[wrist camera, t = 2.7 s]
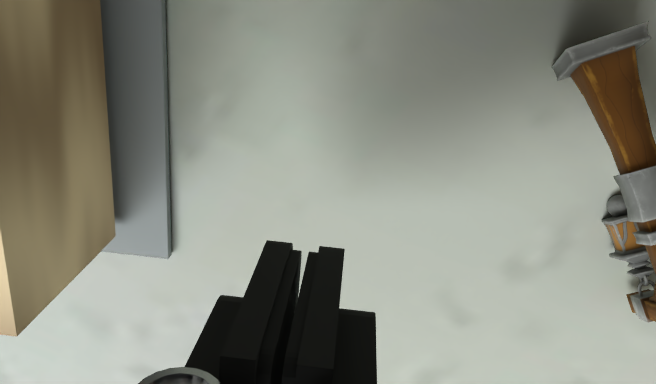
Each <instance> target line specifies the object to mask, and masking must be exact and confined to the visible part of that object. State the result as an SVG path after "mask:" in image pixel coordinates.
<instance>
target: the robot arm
mask: <svg viewBox="0 0 656 384" xmlns="http://www.w3.org/2000/svg"><path fill="white" fill-rule="evenodd" d="M343 260H344V249H341V248H332V247H322V246H320V247H319V252H318V253H316V252H309V254H308V258H307V262H306V267H305V271H304V275H303V280H302V284H301V289H300V293H299V280H300V267H301V251H298V250H293V245H292V243H286V242H277V241H268V240H267V241H266V244H265V246H264V248H263V251H262V253H261V256H260V258H259V261H258V263H257V266H256V268H255V270H254V273H253V275H252V278H251V280H250V283H249V285H248V288H247V290H246V293H245V295H244V297H234V296H225V295H221V296H220V297H219V298H218V300H217V302H216V304H215V306H214V308H213V310H212V312H211V314H210V316H209V318H208V320H207V322H206V324H205V326H204V329H203V331H202V333H201V335H200V337H199V339H198V341H197V343H196V345H195V347H194V349H193V351H192V353H191V355H190V357H189V359H188V361H187V363H186V365H185V367H179V368H169V369H166V370H162V371H159V372H156V373H154V374H152V375H150V376H148V377H146V378H144V379H143V380H142V381H141V382H140V383H138V384H377V365H376V317H375V312H366V311H357V310H348V309H340V308H339V303H340V292H341V281H342V271H343ZM298 293H299V297H298Z"/></svg>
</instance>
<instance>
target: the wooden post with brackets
mask: <svg viewBox="0 0 656 384" xmlns="http://www.w3.org/2000/svg"><path fill="white" fill-rule="evenodd" d="M648 22H649V21H647V22H644V23H641V24H638V25H635V26H633V27H630V28H627V29H624V30H621V31H618V32H615V33H612V34H609V35H606V36H603V37H600V38H597V39H594V40H591V41H588V42H585V43H582V44H579V45H576V46H573V47H570V48H567V49H566V50H565V51H564V52H563V53H562V55H561V56H560V57H559V58H558V60H557V61H556V62H555V63H554V65H553V66H552V68H553V69H554V71H555V74H556V76H557V81H558V80H561V79H564V78H567V77H572V79H573V80H574V82H575V84H576V85H577V87H578V88H579V90H580V91H581V93H582V94H583V96H584V97H585V99H586V101H587V103H588V105H589V107H590V109H591V111H592V113H593V115H594V117H595V119H596V121H597V123H598V125H599V127H600V129H601V131H602V133H603V135H604V137H605V139H606V141H607V143H608V145H609V147H610V149H611V152H612V155H613V157H614V160H615V162H616V165H617V168H618V170H619V173H620V175H617V176H614V179H615V180H616V182H617V184H618V185H619V187H620V190H621V193H622V195H615V196H612V197H611V198H610V199H609V200H608V202H607V210H608V212H609V213H610V214H611V215H612V216H613V217H610V218H606V219H602V222H603V223H604V225H605V226H606V227H607V230H608V232H609V235H610V237H611V239H612V242H613V244H614V247H615V252H614V253H610V254H609V255H610V257H612V258H615V259H619V260H623V261H627V262H629V264H628V266H629V267H633V268H635V269H632V270H630V271H628V272H627V273H628V274H631V275H634V276H636V277H639V279H640V281H641V282H640V283H639V285H638V292H635V293H631V294H627V298H628V301H629V304H630V307H631V310H632V312H633V313H636V315H638V316H639V318H640V319H642V320H644V321H646V322H651V321H655V322H656V283H654V282H653V281H651V280H648V278H647V276H649V275H651V274H652V273H653V272H654V271H655V274H656V144H655V141H654V138H653V135H652V131H651V127H650V123H649V118H648V114H647V110H646V105H645V101H644V97H643V92H642V88H641V84H640V80H639V75H638V67H637V59H636V50H637V49H638V48H639V47H641V46H642V45H643V44H644V43H646V42H647V41H648V40H649V39H651V37H650V36H649V35H648V30H647V25H648ZM649 258H650V260H651V263H652V266H653V268H651V267H647V266H646V265H648V264H650V262H648V261H647V260H648V259H649ZM643 277H644V279H643ZM648 283H650V284H652V286H653V288H654V290H649V289H647V290H643V291H641V286H642V285H644V286H647V285H648Z"/></svg>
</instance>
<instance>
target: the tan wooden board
mask: <svg viewBox="0 0 656 384" xmlns="http://www.w3.org/2000/svg"><path fill="white" fill-rule="evenodd" d="M115 236H116V233H115V218H114V203H113V187H112V172H111V157H110V142H109V127H108V112H107V97H106V82H105V67H104V52H103V37H102V22H101V6H100V0H0V335H9V336H18V335H19V334H20V333H21V332H22V331H23V330H24V329H25V328H26V327H27V326H28V325H29V324H30V323H31V322H32V321H33V320H34V319H35V318H36V317H37V315H38V314H39V313H40V312H41V311H42V310H43V309H44V308H45V307H46V306H47V305H48V304H49V303H50V302H51V301H52V300H53V299H54V298H55V297H56V296H57V295H58V294H59V293H60V292H61V291H62V290H63V289H64V288H65V287H66V286H67V285H68V284H69V283H70V282H71V281H72V280H73V279H74V278H75V277H76V276H77V275H78V274H79V273H80V272H81V271H82V270H83V269H84V268H85V267H86V266H87V265H88V264H89V263H90V262H91V261H92V260H93V259H94V258H95V257H96V256H97V255H98V254H99V253H100V252H101V251H102V250H103V249H104V248H105V247H106V246H107V245H108V243H109V242H110V241H111V240H112V239H113V238H114V237H115Z"/></svg>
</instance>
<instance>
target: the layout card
mask: <svg viewBox="0 0 656 384" xmlns="http://www.w3.org/2000/svg"><path fill="white" fill-rule="evenodd" d="M100 6H101V22H102V37H103V52H104V67H105V82H106V97H107V112H108V127H109V142H110V157H111V172H112V187H113V203H114V218H115V233H116V236H115V237H114V238H113V239H112V240H111V241H110V242H109V243H108V245H107V246H106V247H105V248H104V249H103V250H102V252H111V253H119V254H128V255H137V256H146V257H155V258H164V259H168V258H169V257H170V256H171V213H170V171H169V130H168V89H167V48H166V7H165V0H100Z"/></svg>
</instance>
